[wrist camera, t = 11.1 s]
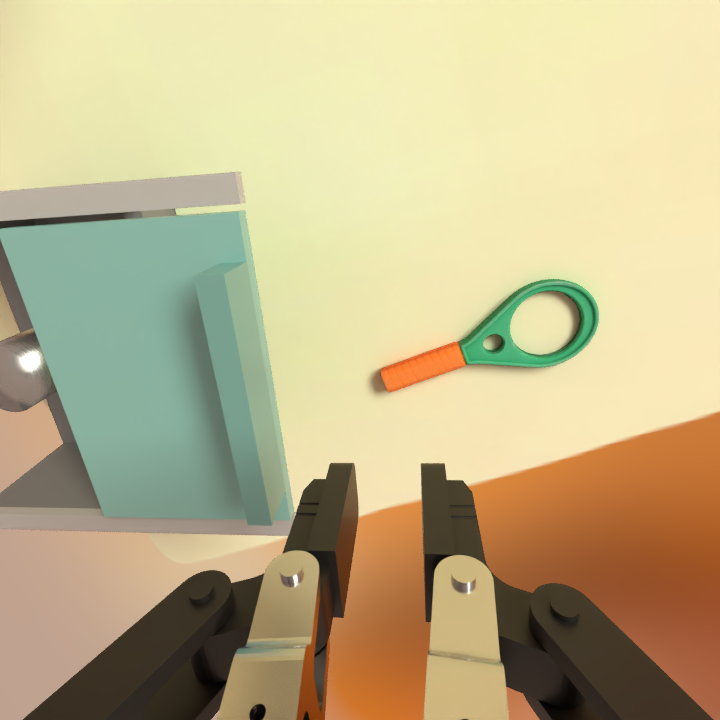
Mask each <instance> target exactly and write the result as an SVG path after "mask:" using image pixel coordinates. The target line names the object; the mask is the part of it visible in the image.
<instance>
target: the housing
mask: <svg viewBox="0 0 720 720" xmlns="http://www.w3.org/2000/svg"><path fill="white" fill-rule="evenodd" d="M242 203H245V197H244V191H243V184H242V178H241V172H230V173H218V174H206V175H193V176H181V177H169V178H157V179H145V180H132V181H120V182H108V183H96V184H83V185H71V186H59V187H47V188H35V189H22V190H10V191H0V229H1V228H8V227H19V226H34V225H48V224H62V223H76V222H90V221H105V220H119V219H133V218H147V217H161V216H176V213H175V208H189V207H202V206H216V205H230V204H242ZM0 281H1V284H2V286H3V289H4V292H5V294H6V297H7V299H8V302H9V304H10V307H11V310H12V312H13V315H14V317H15V320H16V322H17V325H18V328H19V330H20V333H22V332H24V331H27V330H29V329H32V328H33V325H32V322H31V320H30V317H29V314H28V312H27V309H26V306H25V304H24V301H23V298H22V296H21V293H20V290H19V288H18V285H17V282H16V280H15V277H14V274H13V272H12V269H11V266H10V264H9V261H8V258H7V256H6V253H5V250H4V248H3V245H2V242H1V240H0ZM46 400H47V402H48V405H49V407H50V410H51V412H52V415H53V418H54V420H55V423H56V425H57V428H58V430H59V433H60V436H61V438H62V440H63V444H62V445H61V446H60V447H58V448H57V449H56V450H55V451H53V452H52V453H51V454H49V455H48V456H47V457H46V458H44V459H43V460H42V461H41V462H39V463H38V464H37V465H36V466H34V467H33V468H32V469H30V470H29V471H28V472H27V473H25V474H24V475H23V476H22V477H20V478H19V479H18V480H16V481H15V482H14V483H13V484H11V485H10V486H9V487H8V488H6V489H5V490H4V491H2V492H1V493H0V529H17V530H18V529H19V530H60V531H63V530H64V531H100V532H101V531H102V532H143V533H184V534H225V535H267V536H289V533H290V530H291V527H292V524H293V521H294V518H295V515H296V512H293V515H292V518H291V521H286V520H274V522H273V524H272V526H261V525H248V524H247V520H235V519H184V518H133V517H104V514H103V512H102V509H101V506H100V504H99V501H98V498H97V496H96V493H95V490H94V488H93V485H92V482H91V480H90V477H89V474H88V472H87V469H86V466H85V464H84V461H83V458H82V456H81V453H80V450H79V448H78V445H77V442H76V440H75V437H74V434H73V432H72V429H71V426H70V424H69V421H68V418H67V416H66V413H65V410H64V408H63V405H62V402H61V400H60V397H59V394H58V392H55V393H53V394H52V395H50V396H48V397H47V398H46Z"/></svg>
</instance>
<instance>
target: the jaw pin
mask: <svg viewBox="0 0 720 720" xmlns="http://www.w3.org/2000/svg"><path fill="white" fill-rule="evenodd" d="M55 392H57V389H56V386H55V384H54V381H53V378H52V376H51V373H50V370H49V368H48V365H47V362H46V360H45V357H44V354H43V352H42V349H41V346H40V344H39V341H38V338H37V336H36V333H35V330H34V328H32V329H29V330H27V331H24V332H22V333H19V334H17V335H15V336H12V337H10V338H7V339H5V340H2V341H0V408H1V409H3V410H6V411H11V412H20V411H24V410H27V409H29V408H30V407H32V406H34V405H35V404H37V403H39V402H40V401H42V400H44V399H45V398H47V397H48V396H50V395H52V394H53V393H55Z"/></svg>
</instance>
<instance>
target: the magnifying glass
mask: <svg viewBox="0 0 720 720" xmlns="http://www.w3.org/2000/svg"><path fill="white" fill-rule="evenodd" d="M542 291H557V292H558V291H559V292H562V293H564V294H566V295H567V296H568V297H569V298H571V299H572V300H573V301H574V302H575V303H576V305H577V307H578V310H579V314H580V323H579V327H578V330H577V332H576V334H575V336H574V337H573V339H572V340H571V341H570V342H569V343H568V344H567V345H566V346H564V347H563V348H561V349H560V350H558V351H556V352H553V353H550V354H543V355H536V354H530V353H527V352H525V351H523V350H521V349H520V348H518V347H517V346H516V345H515V344H514V342H513V340H512V338H511V335H510V322H511V318H512V315H513V314H514V312H515V310H516V308H517V307H518V306H519V305H520V304H521V303H522V302H523V301H524V300H525V299H527V298H528V297H530V296H531V295H534V294H536V293H539V292H542ZM598 322H599V311H598V307H597V304H596V302H595V300H594V298H593V297H592V296H591V294H590V293H589V292H588V291H587V290H585V289H584V288H583V287H581V286H580V285H578V284H576V283H573V282H569V281H565V280H559V279H548V280H541V281H537V282H534V283H531V284H529V285H526V286H524V287H522V288H521V289H519V290H518V291H516V292H515V293H514V294H512V295H511V296H510V297H509V298H508V299H507V300H506V301H505V302H504V303H503V304H502V305H500V306H499V307H498V308H497V309H496V310H495V311H494V312H493V313H492V314H491V315H490V316H489V317H488V318H487V319H486V320H485V321H483V322H482V323H481V324H480V325H479V326H478V327H477V328H476V329H475V330H474V331H473V332H472V333H471V334H470V335H469V336H467V337H466V338H465V339H463V340H461V341H459V342H453V343H451V344H448V345H445V346H443V347H440V348H437V349H434V350H431V351H429V352H426V353H423V354H420V355H418V356H415V357H412V358H410V359H407V360H404V361H402V362H398V363H396V364H393V365H390V366H388V367H385V368H382V369H381V370H380V375H381V378H382V380H383V382H384V385H385V387H386V389H387V391H388V392H392V391H395V390H398V389H401V388H404V387H407V386H410V385H412V384H415V383H418V382H421V381H424V380H426V379H430V378H432V377H435V376H438V375H441V374H444V373H447V372H450V371H453V370H455V369H458V368H461V367H464V366H465V365H467V364H468V365H471V364H492V365H507V366H522V367H550V366H554V365H557V364H560V363H563V362H565V361H567V360H569V359H571V358H572V357H574V356H575V355H577V354H578V353H579V352H580V351H582V350H583V349H584V348H585V347H586V346H587V345H588V343H589V342H590V341H591V339H592V338H593V336H594V334H595V332H596V330H597V327H598ZM492 334H497V335H499V336H500V337H501V338H502V343H501V345H500V346H499V348H497V349H495V350H487V349H485V348H484V347H483V342H484V340H485V338H486V337H487V336H489V335H492Z"/></svg>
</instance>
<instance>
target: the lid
mask: <svg viewBox="0 0 720 720" xmlns="http://www.w3.org/2000/svg"><path fill="white" fill-rule="evenodd" d="M0 240H1V242H2V245H3V248H4V250H5V253H6V256H7V258H8V261H9V264H10V266H11V269H12V272H13V274H14V277H15V280H16V282H17V285H18V288H19V290H20V293H21V296H22V298H23V301H24V304H25V306H26V309H27V312H28V314H29V317H30V320H31V322H32V325H33V328H34V330H35V333H36V336H37V338H38V341H39V344H40V346H41V349H42V352H43V354H44V357H45V360H46V362H47V365H48V368H49V370H50V373H51V376H52V378H53V381H54V384H55V386H56V389H57V392H58V394H59V397H60V400H61V402H62V405H63V408H64V410H65V413H66V416H67V418H68V421H69V424H70V426H71V429H72V432H73V434H74V437H75V440H76V442H77V445H78V448H79V450H80V453H81V456H82V458H83V461H84V464H85V466H86V469H87V472H88V474H89V477H90V480H91V482H92V485H93V488H94V490H95V493H96V496H97V498H98V501H99V504H100V506H101V509H102V512H103V514H104V517H133V518H184V519H235V520H247V524H248V525H261V526H272V524H273V522H274V520H286V521H291V518H292V515H293V512H294V507H293V501H292V495H291V488H290V482H289V476H288V470H287V464H286V458H285V452H284V446H283V439H282V433H281V427H280V421H279V415H278V409H277V403H276V397H275V391H274V384H273V378H272V372H271V366H270V360H269V354H268V348H267V342H266V336H265V329H264V323H263V317H262V311H261V305H260V299H259V293H258V287H257V280H256V274H255V268H254V262H253V256H252V250H251V244H250V238H249V232H248V225H247V219H246V213H245V211H233V212H218V213H204V214H190V215H176V216H161V217H147V218H133V219H119V220H105V221H90V222H76V223H62V224H48V225H34V226H19V227H8V228H1V229H0Z"/></svg>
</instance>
